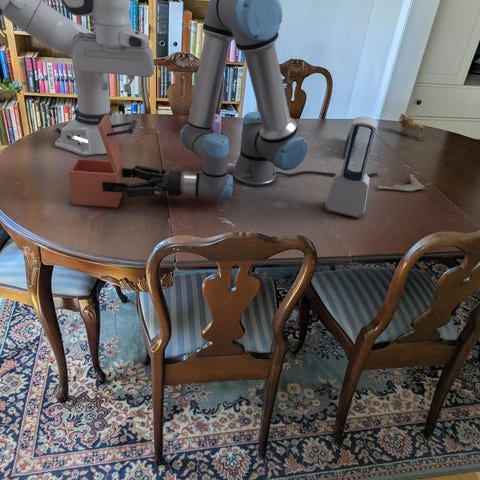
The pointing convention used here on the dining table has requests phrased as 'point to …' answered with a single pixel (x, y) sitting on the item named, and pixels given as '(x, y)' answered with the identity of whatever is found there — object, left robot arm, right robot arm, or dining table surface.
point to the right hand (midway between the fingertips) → (106, 178)
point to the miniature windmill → (286, 79)
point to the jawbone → (405, 186)
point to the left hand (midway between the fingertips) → (116, 90)
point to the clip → (216, 124)
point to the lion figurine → (410, 125)
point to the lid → (113, 140)
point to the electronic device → (352, 178)
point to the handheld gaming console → (348, 141)
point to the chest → (94, 183)
